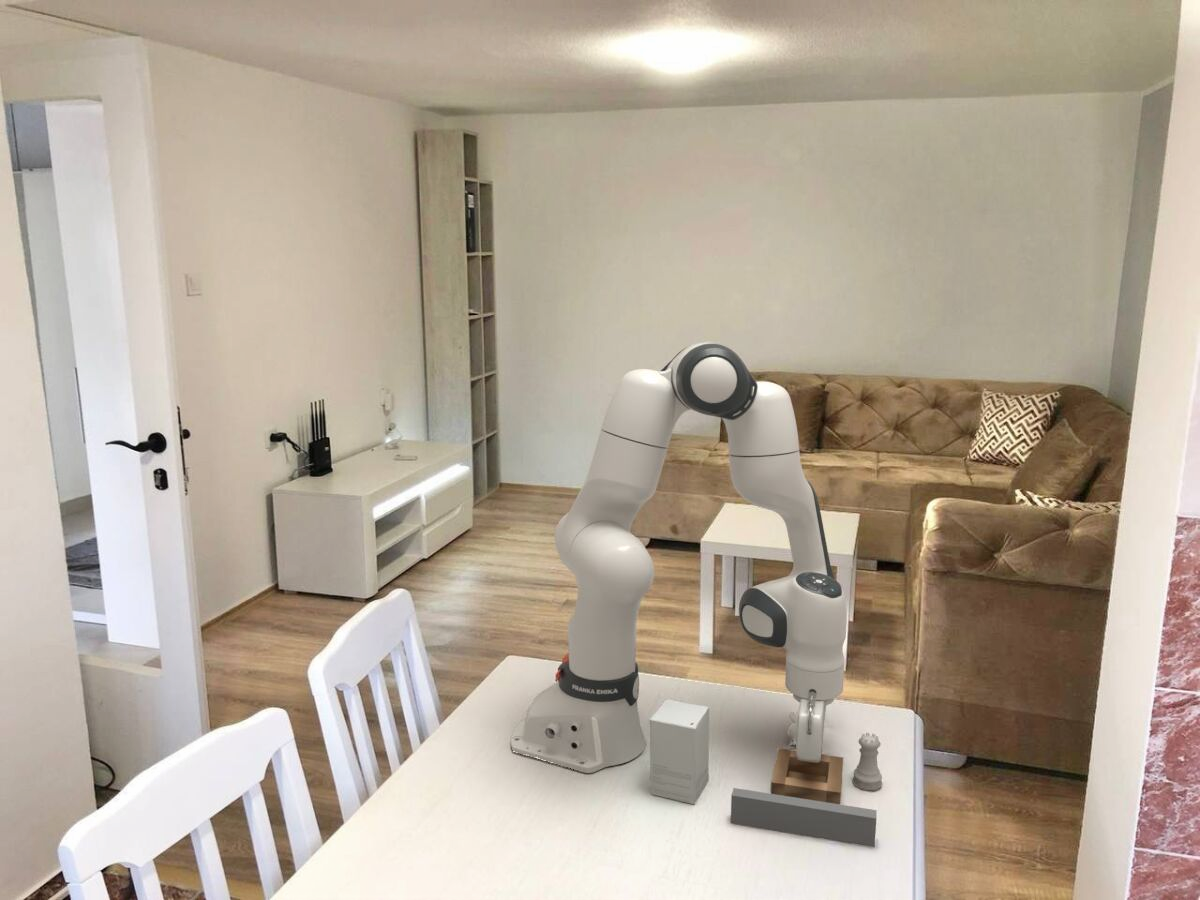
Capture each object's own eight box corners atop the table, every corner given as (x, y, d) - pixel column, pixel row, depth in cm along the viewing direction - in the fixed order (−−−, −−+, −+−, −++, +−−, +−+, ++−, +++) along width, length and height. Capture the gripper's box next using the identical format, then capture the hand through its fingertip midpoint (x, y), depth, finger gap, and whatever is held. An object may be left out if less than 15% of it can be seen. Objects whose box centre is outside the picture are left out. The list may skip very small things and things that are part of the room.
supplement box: (709, 780, 145) (711, 706, 143) (694, 806, 139) (695, 728, 136) (665, 770, 148) (666, 697, 146) (648, 794, 142) (648, 718, 139)
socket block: (770, 803, 139) (771, 782, 138) (777, 768, 148) (778, 748, 147) (839, 814, 136) (840, 792, 135) (842, 777, 145) (843, 757, 145)
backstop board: (730, 823, 134) (731, 795, 134) (732, 815, 136) (733, 787, 135) (874, 847, 129) (876, 818, 128) (874, 838, 131) (876, 810, 130)
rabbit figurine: (776, 743, 156) (784, 705, 162) (790, 757, 157) (798, 718, 163) (804, 736, 152) (811, 696, 158) (819, 750, 153) (826, 710, 159)
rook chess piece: (883, 793, 142) (886, 745, 140) (853, 790, 143) (855, 742, 141) (880, 777, 146) (883, 731, 144) (851, 774, 147) (853, 728, 145)
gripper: (832, 711, 134) (828, 797, 137) (837, 653, 153) (833, 729, 156) (788, 705, 136) (784, 790, 139) (798, 648, 155) (795, 724, 158)
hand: (810, 757), depth 148 cm, fingers closed
